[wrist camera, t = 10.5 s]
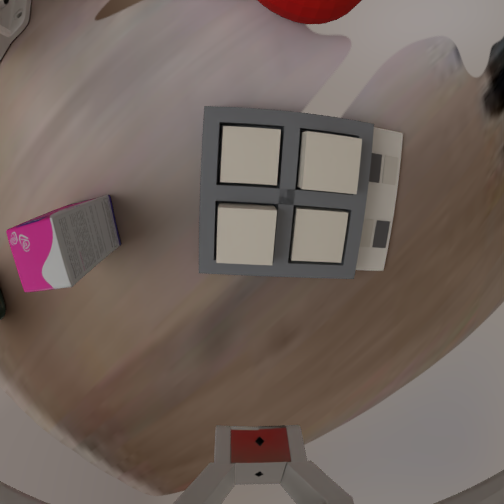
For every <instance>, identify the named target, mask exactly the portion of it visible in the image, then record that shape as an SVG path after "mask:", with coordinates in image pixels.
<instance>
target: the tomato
mask: <svg viewBox="0 0 504 504" xmlns="http://www.w3.org/2000/svg"><path fill="white" fill-rule="evenodd" d="M258 1H259V2H260V3H261V4H262V5H263V6H265V7H266V8H268V9H269V10H270V11H272V12H274V13H276V14H278V15H280V16H281V17H284V18H286V19H289V20H291V21H294V22H298V23H303V24H322V23H327V22H330V21H333V20H337V19H339V18H340V17H342V16H344V15H346V14H347V13H348V12H350V11H351V10H352V9H353V8H354V7H355V6H356V5H357V4H358V3H359V2H360V1H361V0H258Z"/></svg>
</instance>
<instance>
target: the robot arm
mask: <svg viewBox="0 0 504 504" xmlns="http://www.w3.org/2000/svg"><path fill="white" fill-rule="evenodd" d="M30 7H31V0H0V60H1V58H2V57H3V55H4V53H5V52H6V50H7V48H8V47H9V45H10V44H11V42H12V41H13V40H14V39H15V38H16V37H17V36H18V35H19V34H20V33H21V32H22V31H23V29H24V28H25V27H26V26H27V24H28V22H29V17H30ZM230 436H231V444H230ZM236 484H280V485H281V486H282V487H283V488H284V490H285V491H286V492H287V493H288V494H289V496H290V497H291V498H292V499H293V500H294V501H295V502H296V504H354V503H353V499H352V497H351V496H350V495H349V494H348V493H346V492H345V491H344V490H343V489H342V488H341V487H340V486H338V485H337V484H336V483H335V482H334V481H333V480H332V479H331V478H329V477H328V476H327V475H326V474H325V473H324V472H323V471H322V470H321V469H320V468H318V467H317V466H316V465H315V464H314V463H313V462H312V461H307V458H306V453H305V448H304V442H303V437H302V432H301V427H300V426H299V425H289V426H285V425H282V426H258V427H241V426H231V429H230V426H216V433H215V455H214V463H209V465H208V466H207V467H206V468H205V469H204V470H203V471H202V472H201V474H200V475H199V476H198V477H197V478H196V479H195V480H194V481H193V482H192V484H191V485H190V486H189V487H188V488H187V489H186V490H185V491H184V492H183V493H182V494H181V495H180V497H179V498H178V499H177V500H176V501H175V502H174V503H173V504H222V502H223V501H224V500H225V498H226V497H227V495H228V494H229V493H230V491H231V490H232V488H233V487H234V485H236ZM0 504H49V503H46V502H43V501H41V500H39V499H36V498H34V497H32V496H30V495H27V494H25V493H23V492H21V491H19V490H16V489H15V488H13V487H10V486H8V485H6V484H4V483H3V482H1V481H0ZM434 504H504V470H503V471H501V472H499V473H497V474H496V475H494V476H492V477H490V478H488V479H487V480H485V481H483V482H481V483H479V484H477V485H475V486H473V487H471V488H469V489H467V490H464V491H462V492H460V493H458V494H456V495H453V496H451V497H449V498H446V499H444V500H442V501H439V502H437V503H434Z"/></svg>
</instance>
